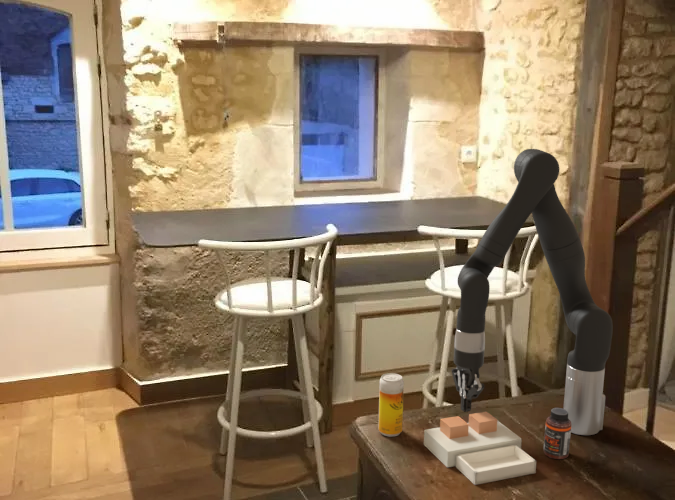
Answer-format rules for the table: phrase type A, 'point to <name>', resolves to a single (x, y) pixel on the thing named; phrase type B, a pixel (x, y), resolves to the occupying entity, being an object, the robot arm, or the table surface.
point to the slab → (467, 442)
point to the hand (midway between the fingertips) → (465, 410)
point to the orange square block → (454, 427)
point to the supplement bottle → (557, 434)
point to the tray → (495, 464)
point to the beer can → (391, 404)
